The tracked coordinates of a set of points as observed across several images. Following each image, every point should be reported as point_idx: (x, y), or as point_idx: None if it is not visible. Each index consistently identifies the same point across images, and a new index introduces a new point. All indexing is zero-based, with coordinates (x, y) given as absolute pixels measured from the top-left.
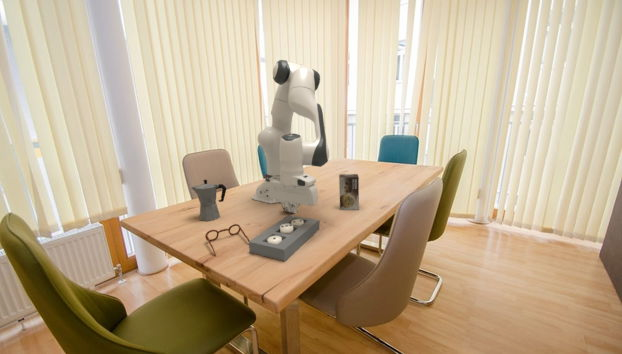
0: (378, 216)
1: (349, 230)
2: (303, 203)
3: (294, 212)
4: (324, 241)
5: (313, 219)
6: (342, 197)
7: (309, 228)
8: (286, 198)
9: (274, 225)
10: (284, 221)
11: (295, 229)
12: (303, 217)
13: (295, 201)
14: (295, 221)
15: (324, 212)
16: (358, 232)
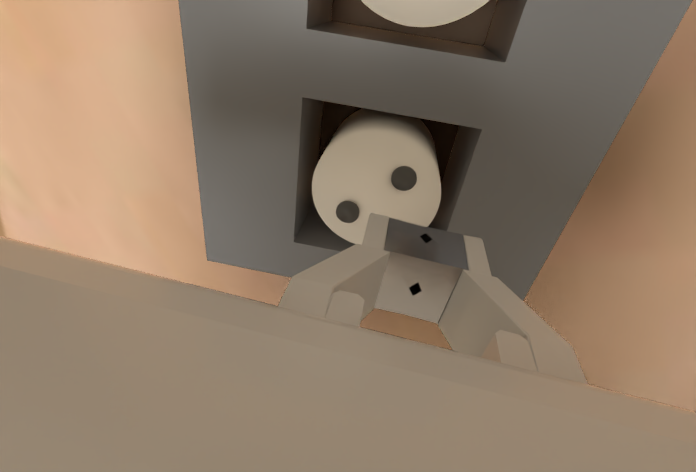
0: None
1: (65, 228)
2: (27, 257)
3: (377, 217)
4: (95, 14)
5: (253, 261)
6: None
7: (188, 62)
8: (601, 465)
9: (655, 28)
10: (525, 179)
11: (345, 32)
12: None
13: (262, 332)
14: (395, 191)
15: None
16: (6, 211)
